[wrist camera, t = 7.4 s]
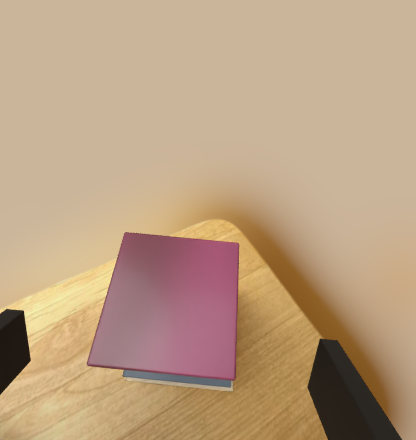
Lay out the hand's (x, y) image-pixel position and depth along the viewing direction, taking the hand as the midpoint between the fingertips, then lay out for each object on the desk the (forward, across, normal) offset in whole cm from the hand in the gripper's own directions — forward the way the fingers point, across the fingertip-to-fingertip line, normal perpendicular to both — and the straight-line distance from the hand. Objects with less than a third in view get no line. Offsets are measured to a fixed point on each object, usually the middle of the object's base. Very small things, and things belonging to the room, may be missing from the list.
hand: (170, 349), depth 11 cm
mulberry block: (+6, 0, -3) cm, 6 cm away
